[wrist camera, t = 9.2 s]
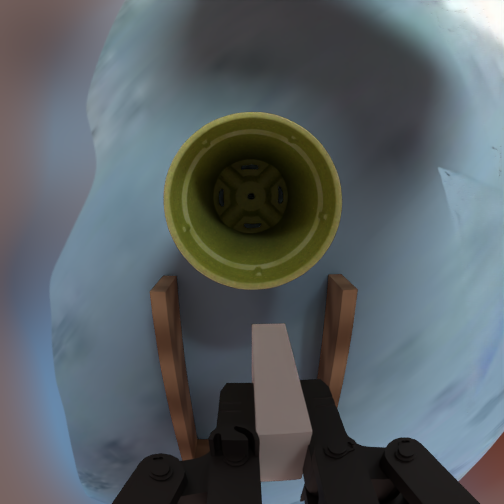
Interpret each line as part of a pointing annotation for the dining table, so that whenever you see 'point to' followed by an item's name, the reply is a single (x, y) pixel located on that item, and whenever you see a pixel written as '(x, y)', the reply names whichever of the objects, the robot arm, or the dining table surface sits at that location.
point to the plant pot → (252, 200)
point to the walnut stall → (173, 358)
